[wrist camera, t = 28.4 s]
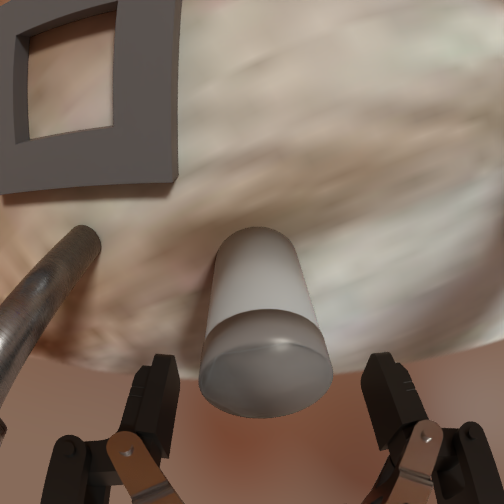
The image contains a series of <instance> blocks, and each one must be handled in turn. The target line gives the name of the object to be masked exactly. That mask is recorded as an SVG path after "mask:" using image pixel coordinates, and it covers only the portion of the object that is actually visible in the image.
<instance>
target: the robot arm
mask: <svg viewBox="0 0 504 504" xmlns="http://www.w3.org/2000/svg"><path fill="white" fill-rule="evenodd" d="M361 389H362V392H363V395H364V399H365V402H366V405H367V408H368V412H369V415H370V418H371V422H372V425H373V429H374V432H375V436H376V439H377V443H378V446H379V450H380V451H382V450H386V449H389V452H390V455H389V456H388V457H387V460H386V462H385V464H384V466H383V468H382V470H381V472H380V474H379V476H378V478H377V480H376V482H375V484H374V486H373V488H372V489H371V491H370V492H369V494H368V495H367V496H366V497H365V499H364V500H363V502H362V503H361V504H426V503H427V501H428V498H429V496H430V493H431V490H432V487H433V486H434V490H435V495H436V499H437V504H504V490H503V486H502V483H501V480H500V476H499V473H498V470H497V467H496V464H495V461H494V458H493V455H492V452H491V449H490V446H489V444H488V441H487V438H486V436H485V433H484V431H483V429H482V427H481V426H480V425H479V424H477V423H476V422H466V423H464V424H463V425H462V426H461V427H460V428H459V429H455V428H441V427H440V426H439V425H438V424H437V423H436V422H434V421H432V420H429V418H428V417H427V414H426V412H425V409H424V407H423V405H422V402H421V400H420V398H419V395H418V393H417V391H416V390H415V386H414V384H413V383H412V380H411V377H410V375H409V373H408V371H407V370H406V369H405V368H404V367H403V366H402V365H401V364H400V363H395V362H394V360H393V357H392V355H391V354H390V353H389V352H383V353H373V354H371V356H370V358H369V360H368V363H367V365H366V367H365V369H364V372H363V374H362V377H361ZM179 391H180V378H179V373H178V369H177V364H176V360H175V356H174V355H165V354H155V356H154V359H153V362H152V366H144V365H143V366H142V367H141V368H140V369H139V371H138V372H137V373H136V374H135V376H134V380H133V383H132V387H131V389H130V393H129V396H128V399H127V403H126V406H125V410H124V413H123V417H122V421H121V424H120V427H119V429H118V431H117V432H116V433H115V434H114V435H112V436H111V437H110V438H108V439H105V440H100V441H86V442H83V441H82V440H81V439H80V438H79V437H76V436H74V435H65V436H62V437H61V438H59V439H58V440H57V441H56V443H55V445H54V448H53V452H52V456H51V460H50V463H49V467H48V471H47V475H46V480H45V484H44V488H43V493H42V498H41V504H109V497H110V489H111V485H124V486H125V488H126V489H127V491H128V493H129V495H130V496H131V499H132V504H185V503H184V502H183V501H182V500H181V498H180V497H179V495H178V494H177V493H176V491H175V490H174V489H173V487H172V486H171V484H170V483H169V481H168V480H167V479H166V477H165V476H164V475H163V472H162V471H161V470H160V462H161V458H169V454H170V447H171V440H172V433H173V428H174V421H175V415H176V409H177V403H178V397H179ZM430 477H432V480H430Z"/></svg>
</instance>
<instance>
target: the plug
mask: <svg viewBox="0 0 504 504" xmlns="http://www.w3.org/2000/svg"><path fill="white" fill-rule="evenodd" d="M332 379H333V369H332V365H331V361H330V358H329V354H328V351H327V347H326V344H325V341H324V337H323V335H322V333H321V331H320V328H319V324H318V321H317V318H316V314H315V311H314V308H313V304H312V301H311V298H310V295H309V291H308V288H307V285H306V282H305V279H304V275H303V272H302V269H301V266H300V263H299V260H298V257H297V253H296V251H295V248H294V246H293V245H292V243H291V242H290V241H289V239H288V238H286V237H285V236H284V235H283V234H281V233H280V232H278V231H276V230H273V229H270V228H265V227H250V228H245V229H242V230H239V231H237V232H235V233H234V234H232V235H231V236H229V237H228V238H227V239H226V240H225V241H224V242H223V243H222V245H221V246H220V248H219V250H218V253H217V256H216V262H215V268H214V275H213V282H212V289H211V296H210V304H209V311H208V318H207V326H206V334H205V341H204V344H203V348H202V356H201V364H200V372H199V388H200V391H201V392H202V395H203V396H204V397H205V398H206V399H207V401H208V402H210V403H211V404H212V405H213V406H215V407H216V408H218V409H220V410H222V411H224V412H227V413H229V414H232V415H237V416H240V417H246V418H274V417H280V416H285V415H289V414H292V413H295V412H298V411H300V410H303V409H305V408H307V407H309V406H310V405H312V404H314V403H315V402H316V401H318V400H319V399H320V398H321V397H322V396H323V395H324V394H325V393H326V392H327V390H328V389H329V387H330V385H331V383H332Z"/></svg>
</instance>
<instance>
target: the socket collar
mask: <svg viewBox="0 0 504 504" xmlns="http://www.w3.org/2000/svg"><path fill="white" fill-rule="evenodd" d="M181 7H182V0H11V1H9V2H7V3H5V4H4V5H2V6H0V195H2V194H10V193H18V192H27V191H36V190H46V189H56V188H68V187H81V186H95V185H112V184H134V183H168V182H173V181H174V180H175V179H176V178H177V176H178V175H179V173H178V119H177V111H178V60H179V37H180V21H181ZM114 10H117V16H116V27H115V41H114V61H113V121H114V126H107V127H99V128H92V129H85V130H78V131H72V132H66V133H61V134H55V135H50V136H45V137H40V138H35V139H31V140H29V127H28V105H27V75H28V54H29V41H30V37H31V36H34V35H36V34H39V33H41V32H44V31H47V30H49V29H52V28H55V27H58V26H61V25H64V24H67V23H70V22H73V21H76V20H79V19H83V18H86V17H90V16H94V15H97V14H101V13H105V12H110V11H114Z"/></svg>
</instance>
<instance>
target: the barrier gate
mask: <svg viewBox="0 0 504 504" xmlns="http://www.w3.org/2000/svg"><path fill="white" fill-rule="evenodd" d="M100 249H101V243H100V239H99V237H98V235H97V234H96V232H95V231H94V230H93V229H91V228H90V227H88V226H85V225H78V226H76V227H74V228H73V229H72V230H71V231H70V232H69V233H68V234H67V235H66V236H64V237H63V238H62V239H61V240H60V241H59V242H58V243H57V244H56V245H55V246H54V247H53V248H52V249H51V250H50V251H49V252H48V253H47V254H46V255H45V256H44V257H43V258H42V259H41V260H40V261H39V262H38V263H37V264H36V266H35V267H34V268H33V269H32V270H31V271H30V272H29V273H28V274H27V275H26V276H25V277H24V278H23V280H22V281H21V282H20V283H19V284H18V285H17V286H16V287H15V289H14V290H13V291H12V292H11V293H10V294H9V295H8V297H7V298H6V299H5V300H4V301H3V303H2V304H1V305H0V408H1V406H2V404H3V402H4V400H5V398H6V396H7V394H8V392H9V390H10V388H11V386H12V384H13V382H14V380H15V379H16V377H17V375H18V373H19V372H20V370H21V368H22V366H23V365H24V363H25V361H26V359H27V358H28V356H29V354H30V353H31V351H32V349H33V348H34V346H35V344H36V343H37V341H38V339H39V338H40V336H41V335H42V333H43V331H44V330H45V328H46V327H47V325H48V324H49V322H50V321H51V319H52V318H53V316H54V315H55V313H56V312H57V310H58V309H59V307H60V306H61V304H62V303H63V301H64V300H65V299H66V297H67V296H68V294H69V293H70V291H71V290H72V289H73V287H74V286H75V284H76V283H77V282H78V280H79V279H80V278H81V276H82V275H83V274H84V272H85V271H86V270H87V268H88V267H89V266H90V264H91V263H92V262H93V260H94V259H95V258H96V257H97V255H98V254H99V252H100ZM6 431H7V427H6V425H5V424H4V422H3V421H2V420H1V418H0V446H1V444H2V441H3V439H4V436H5V434H6Z"/></svg>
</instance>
